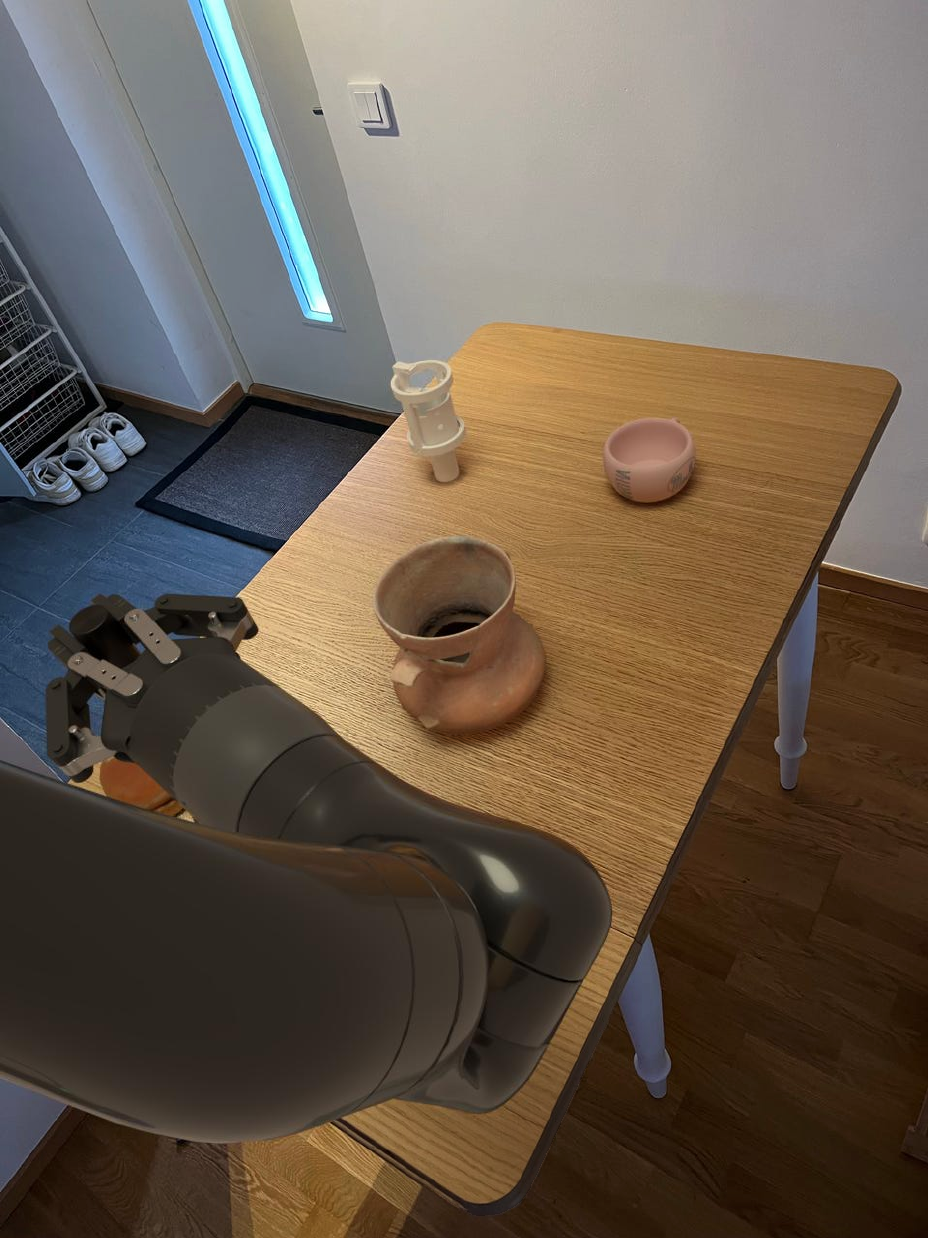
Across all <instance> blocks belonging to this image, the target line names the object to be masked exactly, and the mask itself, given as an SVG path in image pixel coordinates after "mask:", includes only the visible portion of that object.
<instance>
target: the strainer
mask: <svg viewBox="0 0 928 1238" xmlns="http://www.w3.org/2000/svg"><path fill="white" fill-rule="evenodd" d="M391 368H392V371H393V377H392V378H391V380H390V387H391V391H392V394H393V397H394V399H396V400H397V401H399V402H400V403H401V406H402V409H403V414H404V416H405V419H406V423H407V427H408V429H407V432H406V440H407V443H408V447H409V449H410V450H411V452H413V453H414V454H417V455H418V456H423V457H429V460H430V462H431V466H432V469H433V473H434V477H435V479H436V480H437V481H438V482H441V483H449V482H452V481H453V480H456V479H457V478H458V477H459V475H460V469H459V464H458V461H457V458H456V454H455V449H456V448H457V447H459V446H461V444H462V443H463V442H464V440H465V439H466V436H467V429H466V425H465V422H464V419H463V418H462V417H461V416H459V415H458V414H456V411H455V406H454V402H453V398H452V394H451V390H450V389H451V387H452V386H453V384H454V375H453V371H452V367H451V365H449V364H448V363H446V362H445V361H442V360H438V359H426V360H420V361H416V362H413V363H410V362H409V363H407V362H405V361H399V360H398V361H397V362H395V364H393V365H392V366H391ZM427 370H429V371H430V372H432V371H434V374H435V378H436V381H437V385H435V386H433V387H427V388H423V387H419V386H415V385H412V384H411V380H410V377H411V376H413V375H417V374H419V373H423V372H426V371H427Z"/></svg>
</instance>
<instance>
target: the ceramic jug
mask: <svg viewBox="0 0 928 1238" xmlns="http://www.w3.org/2000/svg"><path fill="white" fill-rule="evenodd" d="M516 583H517V582H516V571H515V568H514V565H513V563H512V559H511V556H510V555H509V553H508V552H507V550H505V549H504V548H503V547H501V546H499V545H496V544H493V543H490V542H489V541H488V540H486V539H484V538H480V537H476V536H470V535H454V536H453V535H452V536H451V535H450V536H442V537H441V536H440V537H438V538H433V539H432V540H427V541H424V542H422V543H419V544H416V546H413V547H411V548H410V549H409V550H407V551H405V552H403V553H401V554H400V555H398V556H397V557H396V558H395V559H394V560H392V562H390V563H389V564H388V565H387V566H386V568H384V570H383V571H382V573H381V575H379V577H378V579H377V581H376V582H375V587H374V588H373V593H372V607H373V611H374V614H375V617H376V619H377V621H378V623H379V624H380V626H381V628H382V629H383V631H384V632H385V633H386V634H387V636H388V638H390V640H392V641H393V643H394V644H395V645H396V646H398V647H399V648H398V651H397V653H396V656H395V659H394V663H393V669H392V671H391V673H390V676H389V680H390V681H391V682H392V684H393V685H392V686H393V689H394V692H395V696H396V698H397V701H398V702H399V703H400V705H401V706H402V708H403V709H404V711H405V712H406V713H408V715H409V716H411V718H412V719H414V720H415V721H416V722H418V723H420V724H421V725H423V727H425V729H426V730H427V731H428V732H429V733H437V734H442V735H443V734H445V735H453V736H467V735H468V736H469V735H475V734H481V733H485V732H488V731H491V730H493V729H497V728H499V727H501V726H503V725H505V724H507V723H508V722H510V721H512V720H513V719H515V718H516V717H518V716H519V715H520V714H521V713H522V712H523V711H525V709H526V708H527V707H528V706H529V705H530V704H531V703H532V701H533V700H534V699H535V697H536V695H537V694H538V692H539V690H540V688H541V686H542V683H543V679H544V676H545V673H546V672H545V671H546V661H547V660H546V651H545V647H544V644H543V641H542V639H541V637H540V635H539V633H538V632H537V631H536V629H535V628H534V627H533V626H532V624H531V623H529V621H527V620H526V619H525V618H524V617H522V616H521V615H519V614H517V613H516V612H514V607H515V601H516V590H517V589H516V588H517V586H516Z"/></svg>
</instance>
